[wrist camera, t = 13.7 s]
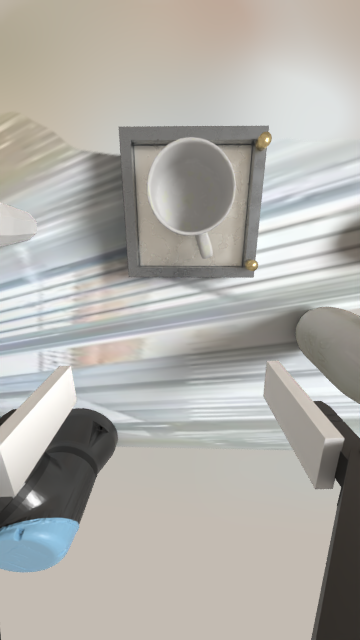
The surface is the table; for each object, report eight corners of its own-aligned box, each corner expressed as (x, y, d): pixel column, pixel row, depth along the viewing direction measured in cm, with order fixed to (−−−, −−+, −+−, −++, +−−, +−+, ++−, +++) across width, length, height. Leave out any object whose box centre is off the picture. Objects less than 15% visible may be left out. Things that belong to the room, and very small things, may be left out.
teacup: (149, 163, 35) (139, 141, 27) (224, 153, 34) (235, 128, 26) (162, 260, 39) (156, 265, 31) (228, 253, 38) (238, 256, 31)
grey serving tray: (135, 272, 43) (126, 278, 37) (128, 142, 37) (115, 121, 30) (245, 272, 43) (256, 279, 36) (257, 141, 37) (273, 120, 30)
